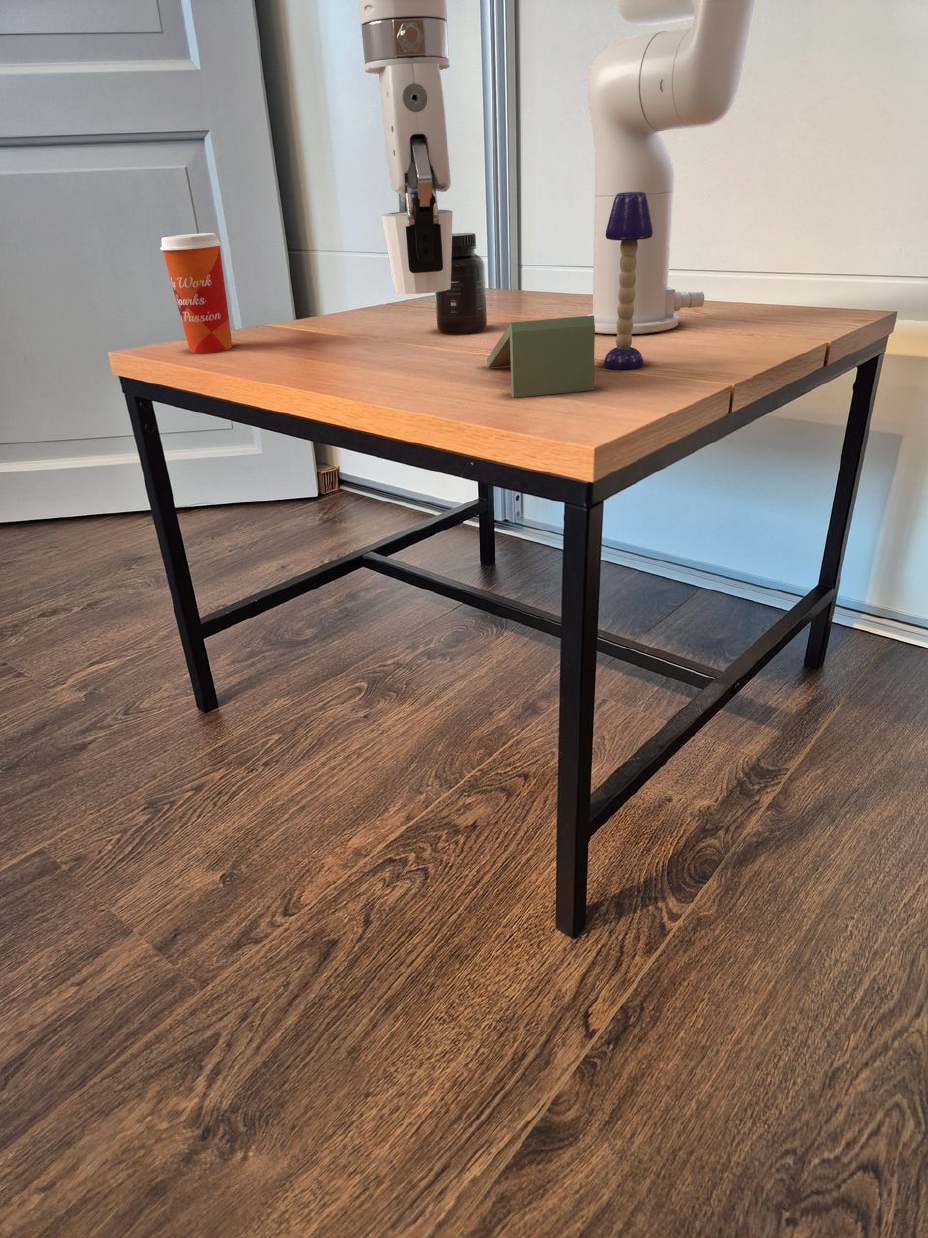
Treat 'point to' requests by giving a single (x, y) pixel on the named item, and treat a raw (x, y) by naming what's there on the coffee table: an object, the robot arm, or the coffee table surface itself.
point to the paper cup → (199, 290)
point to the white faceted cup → (399, 256)
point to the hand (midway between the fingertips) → (421, 266)
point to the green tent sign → (548, 355)
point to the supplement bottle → (463, 290)
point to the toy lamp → (627, 271)
